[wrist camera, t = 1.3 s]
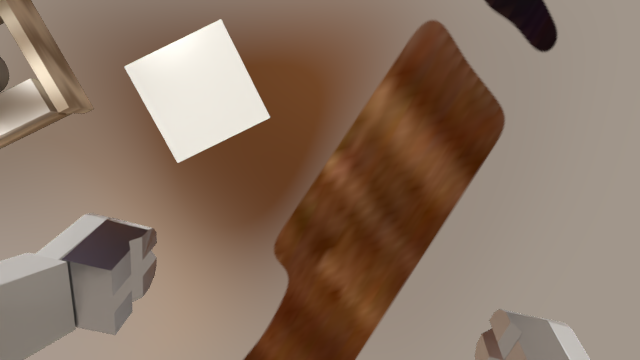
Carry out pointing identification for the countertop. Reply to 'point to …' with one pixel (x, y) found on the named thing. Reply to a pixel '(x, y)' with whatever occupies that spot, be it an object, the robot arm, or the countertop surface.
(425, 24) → the countertop surface
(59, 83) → the birch rack
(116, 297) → the robot arm
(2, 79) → the beverage can
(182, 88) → the ceramic tile
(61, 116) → the light wood bar
